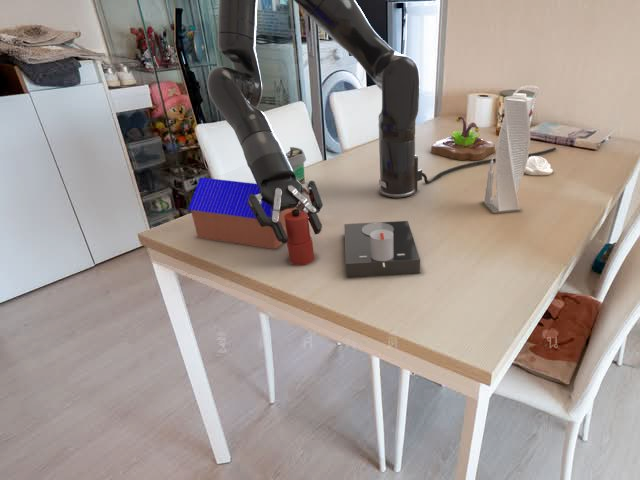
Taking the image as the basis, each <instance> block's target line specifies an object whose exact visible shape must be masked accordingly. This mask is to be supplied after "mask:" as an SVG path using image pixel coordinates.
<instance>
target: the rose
mask: <svg viewBox="0 0 640 480" xmlns="http://www.w3.org/2000/svg"><path fill="white" fill-rule="evenodd" d="M553 172H554V170H553V168H551V164H550V163H548V160H547V159H546V158H545V157H542V156H539V155H535V156H529V157H528V160H527V164H526V168H525V171H524V174H525V175H529V176H548V175H551V174H552V173H553Z"/></svg>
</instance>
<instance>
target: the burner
mask: <svg viewBox="0 0 640 480" xmlns="http://www.w3.org/2000/svg"><path fill="white" fill-rule="evenodd" d="M370 223H371V224H367V225H365V226H364V227H363V228H362V233H363V234H365V235H367V236H370V233H371V232H373V231H375V230H381V229H383V230H389V231H391V232H393V231H394V228H393V227H392V226H391V225H389V224H386V223H376V222H370Z"/></svg>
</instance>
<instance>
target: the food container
mask: <svg viewBox="0 0 640 480" xmlns="http://www.w3.org/2000/svg"><path fill="white" fill-rule="evenodd" d="M285 154H286V156H287V158H288V160H289V163H290V165H291V167H292V169H293V171H294V174H295V176H296V179H297V180H298V181H299V182H300V183H301V184H306V181H305V180H306V179H305V162H306V161H307V158H306V155H305V152H304V151H303V149H301V148H299V147H294V146H290V147H289V151H288V152H285ZM302 192H304V191H303V190H302ZM302 192H301V193H302Z"/></svg>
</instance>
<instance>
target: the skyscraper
mask: <svg viewBox="0 0 640 480" xmlns="http://www.w3.org/2000/svg"><path fill="white" fill-rule="evenodd" d="M529 88H530V89H536V90H535V91H534V94H533V96H532V97H530V96H529V97H528V96H527V93H524V92H520V91H521V90H524V89H529ZM539 91H540V87H539V86H538V85H533V84H531V85H530V84H527V85H523V86H520V87H518V88H516V90H515V91H514V92H513V93H512V95H507V96H504V98H503V110H504V116H503V120H502V122H501V126H500V130H499V134H498V139H497V143H496V150H495V151H496V152H495V159H496V161H495V172H494V171H493V170H494V161H493V159H494V153H492V154H491V159H492V160H491V161H490V162H489V170H488V171H487V179H486V188H485V194H484V201H482V204H483V205H484V206H485V208H487V209H488V210H489V211H490V212H491V213H492V214H493V215H494V214H502V213H503V214H504V213H514V212H515V213H516V212H520V211H521V208H520V203H519V197H518V190H519V187H520V185H521V182H522V180H523V176H524V174H525V173H524V171H525V168H526V164H527V160H528V158H529V157H528V155H529V154H530V149H531V148H530V147H531V121H530V112H531V110H532V107H533V106H534V105H533V104H534V102H535V100H536V97H537V95H538V92H539ZM494 173H495V186H496V187H495V189H496V192H495V194H494V197H493V198H492V195H493V182H494Z"/></svg>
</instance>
